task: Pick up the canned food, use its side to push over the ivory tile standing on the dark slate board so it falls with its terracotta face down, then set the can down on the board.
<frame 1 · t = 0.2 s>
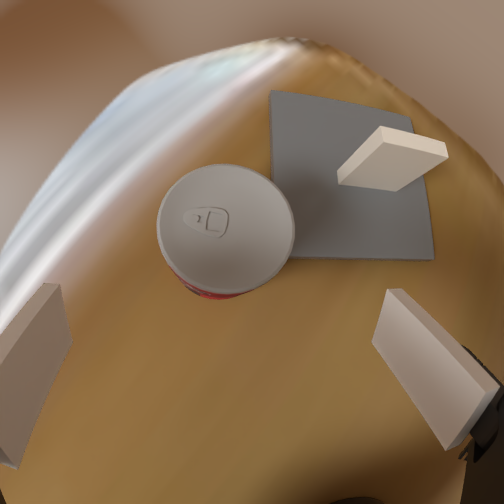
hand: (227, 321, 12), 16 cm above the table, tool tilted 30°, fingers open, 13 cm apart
tile: (367, 181, 31), point 1 cm above the table, touching slate board
slate board: (353, 175, 32), on the table
canned food: (217, 257, 29), on the table
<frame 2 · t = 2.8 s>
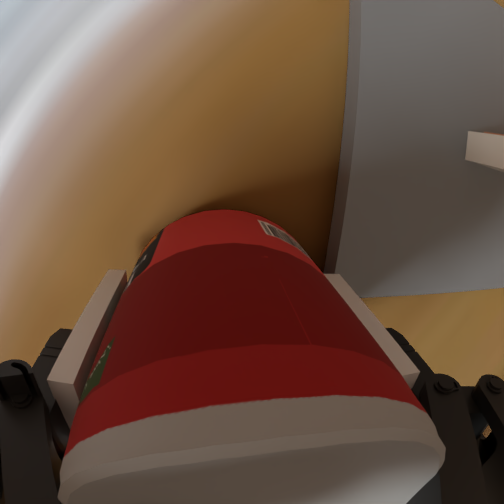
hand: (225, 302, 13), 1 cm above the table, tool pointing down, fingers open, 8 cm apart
tile: (503, 159, 13), point 1 cm above the table, touching slate board
slate board: (481, 135, 13), on the table
canned food: (222, 285, 15), on the table, touching gripper
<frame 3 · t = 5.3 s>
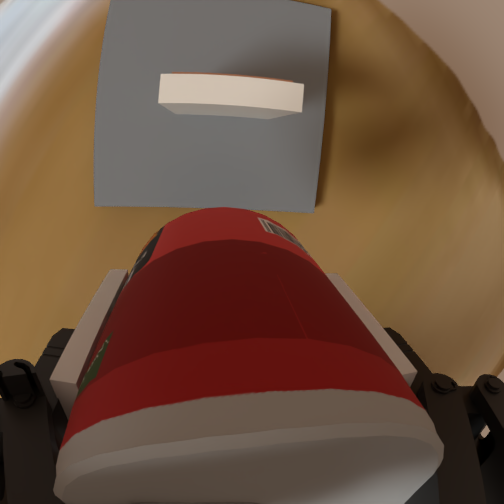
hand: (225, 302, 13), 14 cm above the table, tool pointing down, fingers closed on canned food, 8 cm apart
tile: (223, 106, 22), point 1 cm above the table, touching slate board
slate board: (210, 94, 23), on the table
canned food: (222, 282, 15), point 13 cm above the table, touching gripper
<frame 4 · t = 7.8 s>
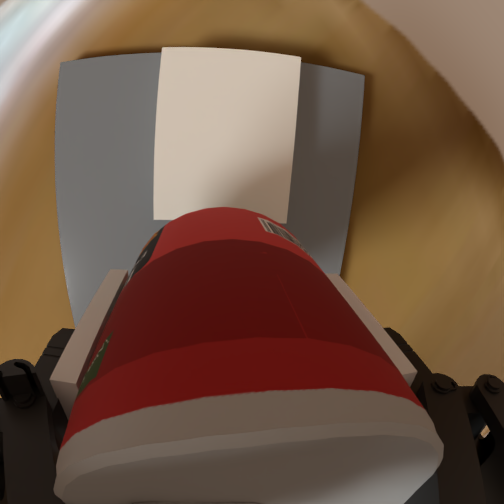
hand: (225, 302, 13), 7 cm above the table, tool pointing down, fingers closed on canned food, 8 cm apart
tile: (219, 217, 17), point 2 cm above the table, tilted 90°, touching slate board
slate board: (202, 205, 19), on the table
canned food: (222, 282, 15), point 6 cm above the table, touching gripper
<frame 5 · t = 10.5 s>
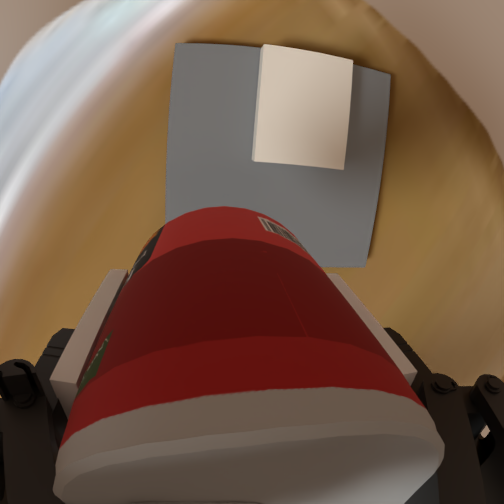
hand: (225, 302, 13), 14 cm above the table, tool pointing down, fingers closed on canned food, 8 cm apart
tile: (298, 164, 24), point 2 cm above the table, tilted 90°, touching slate board
slate board: (279, 158, 25), on the table
canned food: (223, 282, 15), point 13 cm above the table, touching gripper
when the fingers open (4 cm above the table, at t = 12.7 s): canned food drops 1 cm, resting on slate board.
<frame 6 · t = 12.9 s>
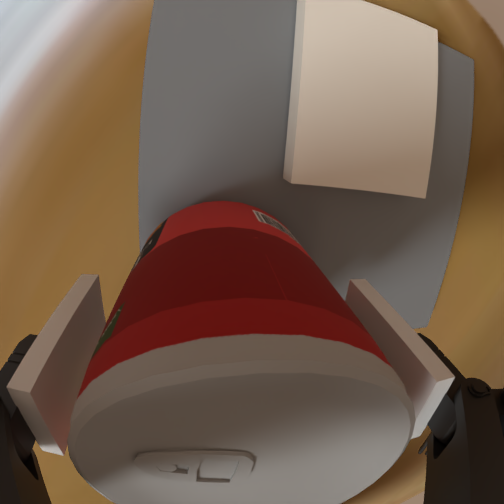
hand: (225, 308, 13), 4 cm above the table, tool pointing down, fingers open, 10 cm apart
tile: (359, 187, 14), point 2 cm above the table, tilted 90°, touching slate board
slate board: (324, 175, 16), on the table
canned food: (221, 271, 16), point 1 cm above the table, touching slate board
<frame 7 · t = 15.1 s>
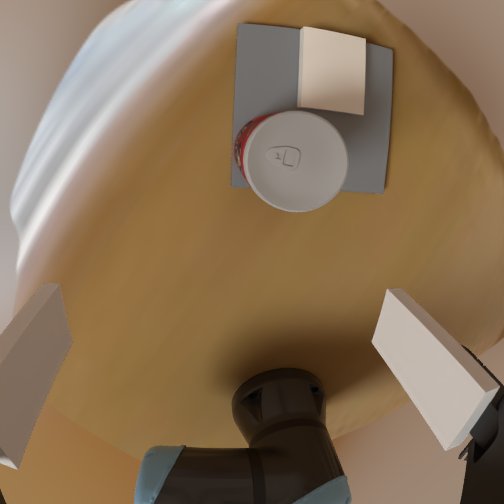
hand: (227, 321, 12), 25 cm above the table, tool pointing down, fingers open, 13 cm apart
tile: (330, 110, 30), point 2 cm above the table, tilted 90°, touching slate board
slate board: (315, 109, 32), on the table
canned food: (270, 150, 32), point 1 cm above the table, touching slate board
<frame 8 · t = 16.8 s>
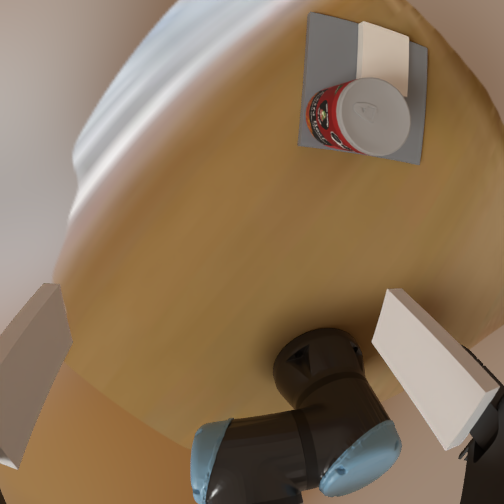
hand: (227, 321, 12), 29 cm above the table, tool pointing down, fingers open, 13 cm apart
tile: (382, 90, 34), point 2 cm above the table, tilted 90°, touching slate board
slate board: (368, 89, 36), on the table
canned food: (333, 118, 36), point 1 cm above the table, touching slate board
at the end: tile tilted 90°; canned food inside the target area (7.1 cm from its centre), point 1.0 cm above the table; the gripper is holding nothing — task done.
